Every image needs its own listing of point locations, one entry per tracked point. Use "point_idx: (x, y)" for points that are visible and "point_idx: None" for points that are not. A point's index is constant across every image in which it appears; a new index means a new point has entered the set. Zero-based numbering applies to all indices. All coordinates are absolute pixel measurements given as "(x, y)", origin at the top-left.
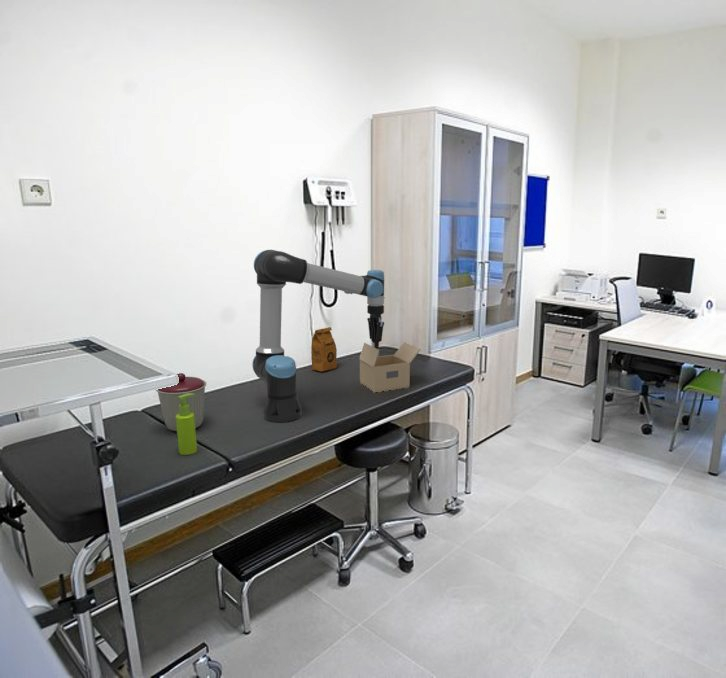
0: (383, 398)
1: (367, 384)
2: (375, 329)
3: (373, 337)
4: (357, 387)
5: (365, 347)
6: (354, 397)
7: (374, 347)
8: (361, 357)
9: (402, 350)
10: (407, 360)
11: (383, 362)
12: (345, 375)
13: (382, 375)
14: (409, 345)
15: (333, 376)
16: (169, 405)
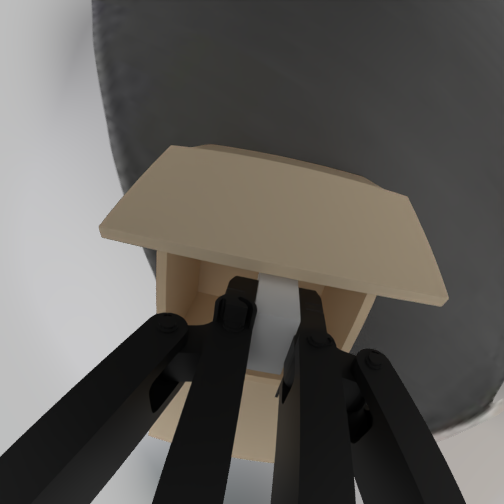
0: (140, 140)
1: (282, 157)
2: (153, 501)
3: (295, 379)
4: (320, 129)
5: (395, 258)
6: (214, 49)
7: (258, 284)
8: (386, 198)
9: (275, 423)
10: None
11: (336, 324)
12: (466, 201)
13: None
14: (243, 454)
15: (483, 158)
16: None
